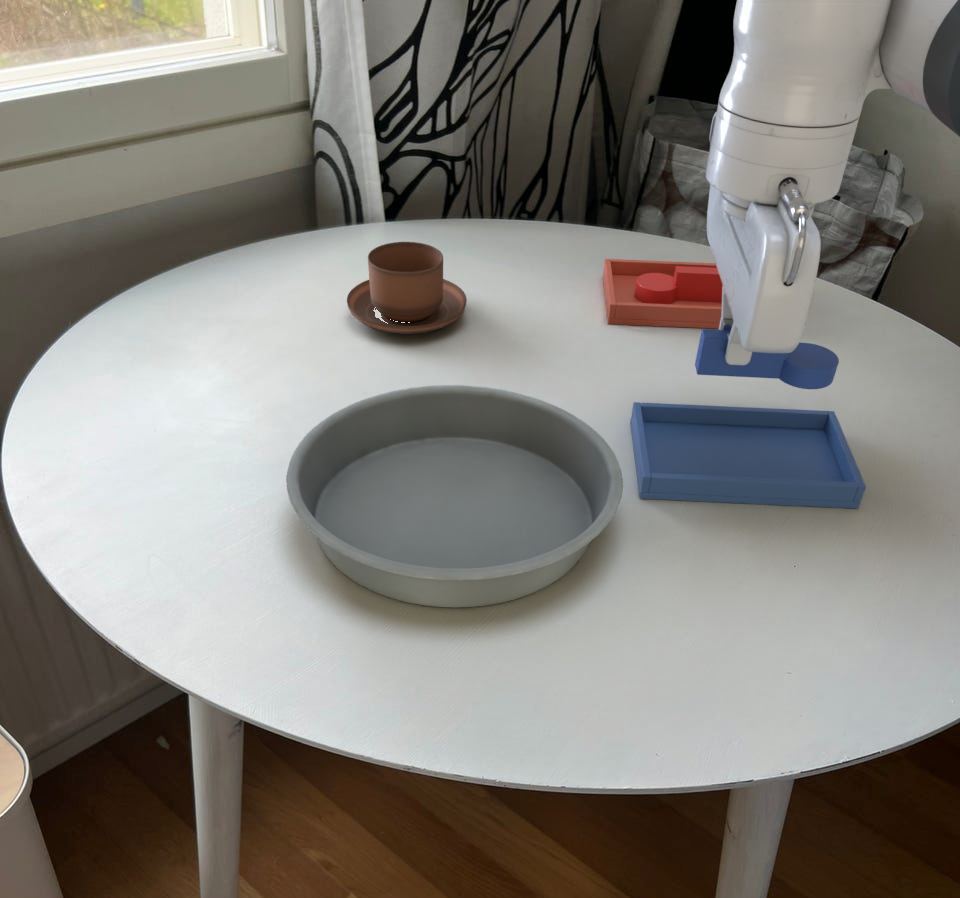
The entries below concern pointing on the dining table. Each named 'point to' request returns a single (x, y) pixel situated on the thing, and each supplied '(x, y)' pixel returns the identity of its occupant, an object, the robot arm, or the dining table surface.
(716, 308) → the tray red
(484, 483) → the cake pan
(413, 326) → the cup and saucer
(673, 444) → the tray blue
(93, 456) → the dining table surface
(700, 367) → the blue lever handle
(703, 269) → the red lever handle
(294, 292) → the dining table surface
